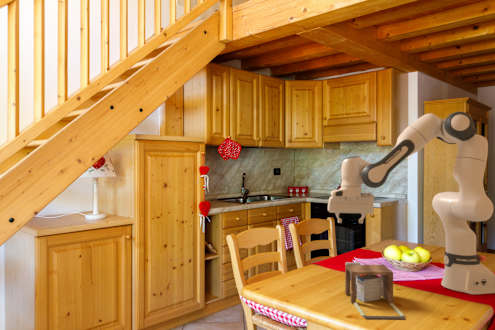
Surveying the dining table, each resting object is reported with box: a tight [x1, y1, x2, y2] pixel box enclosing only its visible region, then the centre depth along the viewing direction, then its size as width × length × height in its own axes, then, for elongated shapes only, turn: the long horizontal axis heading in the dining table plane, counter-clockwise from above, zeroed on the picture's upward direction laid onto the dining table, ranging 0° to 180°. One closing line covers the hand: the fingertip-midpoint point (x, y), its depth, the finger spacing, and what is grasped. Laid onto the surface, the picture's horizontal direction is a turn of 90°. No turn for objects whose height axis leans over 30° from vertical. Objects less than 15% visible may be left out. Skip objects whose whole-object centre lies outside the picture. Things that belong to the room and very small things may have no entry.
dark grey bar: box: [363, 315, 406, 320], centre depth 126 cm, size 13×2×1 cm, turn 89°
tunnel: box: [344, 264, 394, 305], centre depth 144 cm, size 15×10×12 cm, turn 89°
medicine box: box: [356, 275, 382, 303], centre depth 143 cm, size 8×4×9 cm, turn 111°
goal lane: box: [353, 302, 406, 318], centre depth 132 cm, size 14×11×1 cm
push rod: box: [344, 261, 361, 293], centre depth 159 cm, size 8×18×7 cm, turn 179°
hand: (350, 222), depth 171 cm, fingers open, 8 cm apart
